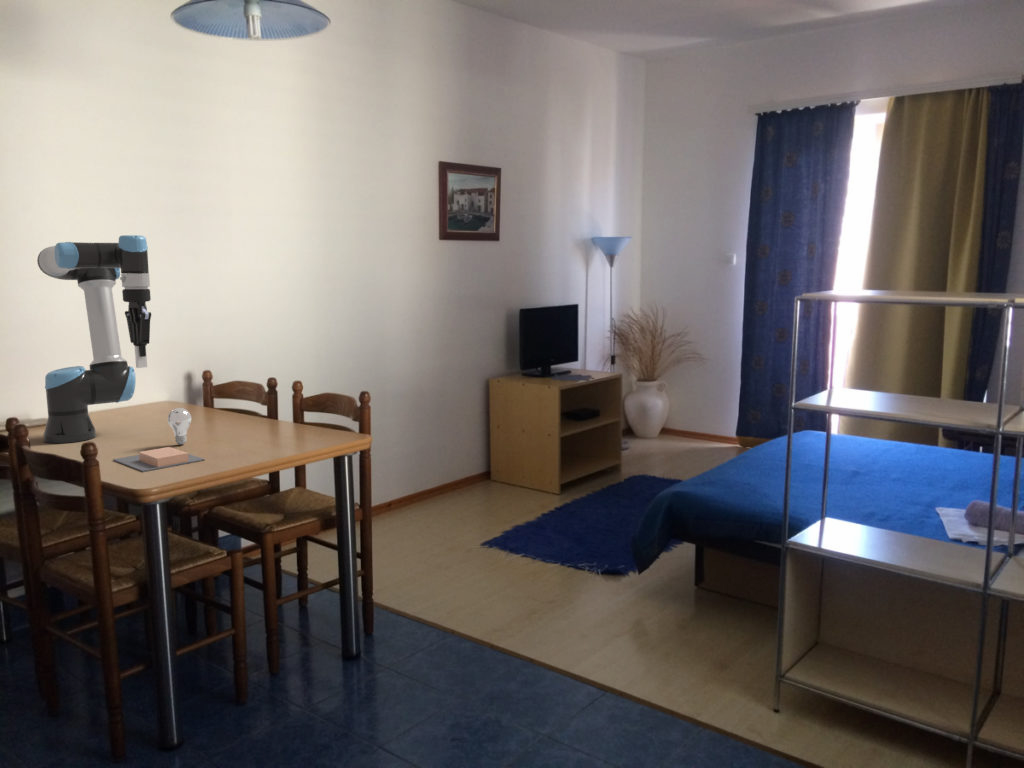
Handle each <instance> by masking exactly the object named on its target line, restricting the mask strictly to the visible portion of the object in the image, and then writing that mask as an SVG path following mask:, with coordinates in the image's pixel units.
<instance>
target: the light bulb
mask: <svg viewBox="0 0 1024 768" xmlns="http://www.w3.org/2000/svg"><path fill="white" fill-rule="evenodd" d="M191 422H192V414H191V413H190V411H189V410H187V409H186V408H183V407H176V408H173V409H172V410H171V411H170V413H169V414H168V417H167V423H168V425H169V427H170V428H171V429H172V431H173V435H174V438H175V443H176V444H177V445H178V446H184V445H185V443H187V442H188V441H187V434H188V430H189V428H190V425H191Z"/></svg>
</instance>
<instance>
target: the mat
mask: <svg viewBox="0 0 1024 768" xmlns="http://www.w3.org/2000/svg"><path fill="white" fill-rule="evenodd" d="M188 459H189V462H183V463H178V464H173V465H167V466H162V467H156V466H153V465H150V464H148V463H145V462H142V461H140V460H139V454H136V455H131V456H125V457H119V458H113V462H116V463H119V464H121V465H124V466H127V467H129V468H131V469H134V470H137V471H139V472H142V473H145V472H151V471H155V470H161V469H166V468H173V467H178V466H183V465H188V464H193V462H194V463H198V461H199V462H203V461H202V460H204V461H205V458H204V457H203V458H202V457H200V456H196V455H193V454H189V453H188Z"/></svg>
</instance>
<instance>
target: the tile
mask: <svg viewBox="0 0 1024 768" xmlns="http://www.w3.org/2000/svg"><path fill="white" fill-rule="evenodd" d="M188 454H189V453H188V452H186V451H182V450H181V449H180V450H179V449H177V448H174V447H171V446H167V447H161V448H154V449H149V450H143V451H139V452H138V455H139V460H140V461H142V462H145V463H148V464H150V465H153V466H156V467H162V466H167V465H173V464H178V463H183V462H189V459H188Z"/></svg>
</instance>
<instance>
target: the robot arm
mask: <svg viewBox="0 0 1024 768" xmlns="http://www.w3.org/2000/svg"><path fill="white" fill-rule="evenodd" d="M148 250H149V248H148V242H147V238H146V236H144V235H138V234H136V235H134V234H131V235H130V234H129V235H120V236H118V242H78V241H77V242H73V241H72V242H71V241H65V242H58V243H56V244H55V245H51V246H48V247H46V248H43V249H42V250H41V251H40V252H39V253H38V256H37V261H36V262H37V266H38V268H39V269H40V271H41V272H42V273H43V274H45V275H46V276H48V277H50V278H54V279H57V280H64V281H77V286H78V287H79V288H80V289H81V290H83V292H84V293H83V294H84V300H85V308H86V314H87V322H88V329H89V337H90V343H91V349H92V358H93V360H92V361H91V362H90V364H89V365H88V366H89V369H86V368H85V367H84V366H82V365H81V366H80V365H78V366H77V365H76V366H68V367H62V368H58V369H54V370H51V371H49V372H47V373H46V375H45V377H44V378H45V379H44V382H45V383H44V384H45V385H44V389H45V395H46V397H45V398H46V404H47V405H46V407H47V420H46V425H45V428H44V432H43V441H44V442H46V443H51V444H65V443H66V444H69V443H77V442H84V441H87V440H88V441H89V440H91V439H94V438H96V437H97V434H96V433H97V432H96V429H95V426H94V423H93V422H92V419H91V417H90V415H89V409H88V406H92V405H100V404H101V405H102V404H111V403H112V404H113V403H116V404H118V403H121V402H128V401H130V400H131V399H132V398H133V396H134V395H135V390H136V372H135V369H134V367H133V366H128V361H127V359H125V358H123V356H122V350H121V343H120V336H119V330H118V323H117V315H116V310H115V302H114V294H113V288H114V287H115V285H116V284H117V282H116V281H117V280H120V281H121V286H122V287H123V289H122V290H121V291H122V301H123V302H125V303H128V310H125V311H124V315H125V318H126V323H127V328H128V335H129V339H130V343H131V344H132V345H133V346H134V355H135V359H134V360H135V367H136V368H137V369H139V368H140V369H141V368H143V369H144V368H148V359H147V345H148V344H150V337H151V335H150V333H151V330H150V329H151V318H152V312H150V311H148V307H147V302H151V299H152V298H151V290H150V287H151V281H150V272H149V259H148V258H149V256H148ZM120 276H121V277H120Z"/></svg>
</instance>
